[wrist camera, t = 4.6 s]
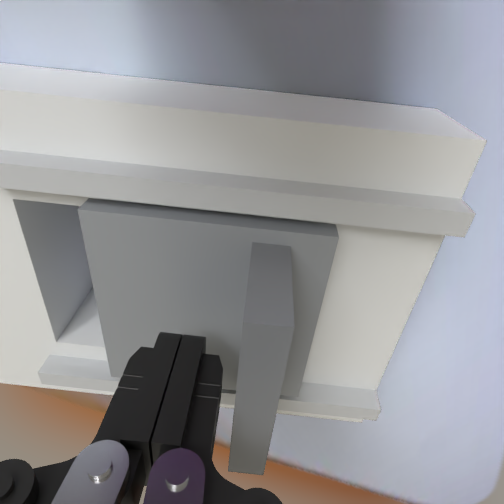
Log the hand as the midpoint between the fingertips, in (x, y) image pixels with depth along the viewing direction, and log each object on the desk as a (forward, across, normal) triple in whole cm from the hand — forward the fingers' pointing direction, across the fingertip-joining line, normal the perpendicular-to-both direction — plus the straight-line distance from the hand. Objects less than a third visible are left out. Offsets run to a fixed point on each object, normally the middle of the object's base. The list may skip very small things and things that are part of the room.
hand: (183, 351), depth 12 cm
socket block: (+7, +1, 0) cm, 7 cm away
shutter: (+2, 0, 0) cm, 2 cm away
